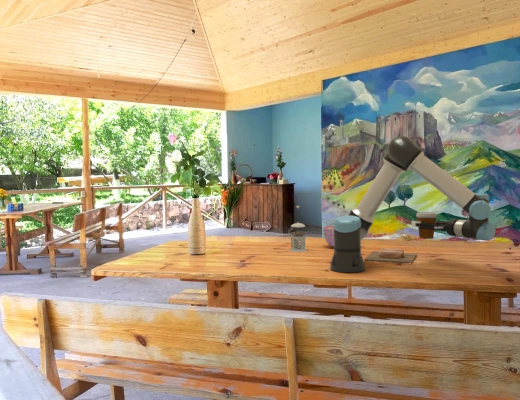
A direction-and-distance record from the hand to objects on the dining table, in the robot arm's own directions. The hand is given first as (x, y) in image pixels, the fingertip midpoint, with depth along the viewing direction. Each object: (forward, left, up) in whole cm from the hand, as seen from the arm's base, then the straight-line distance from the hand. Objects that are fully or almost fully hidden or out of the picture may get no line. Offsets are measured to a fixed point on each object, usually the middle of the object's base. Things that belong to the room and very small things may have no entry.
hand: (418, 223), depth 218 cm
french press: (+4, +65, -18) cm, 67 cm away
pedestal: (-2, +13, -18) cm, 22 cm away
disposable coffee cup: (-3, -4, -7) cm, 8 cm away
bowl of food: (+21, +45, -18) cm, 53 cm away
